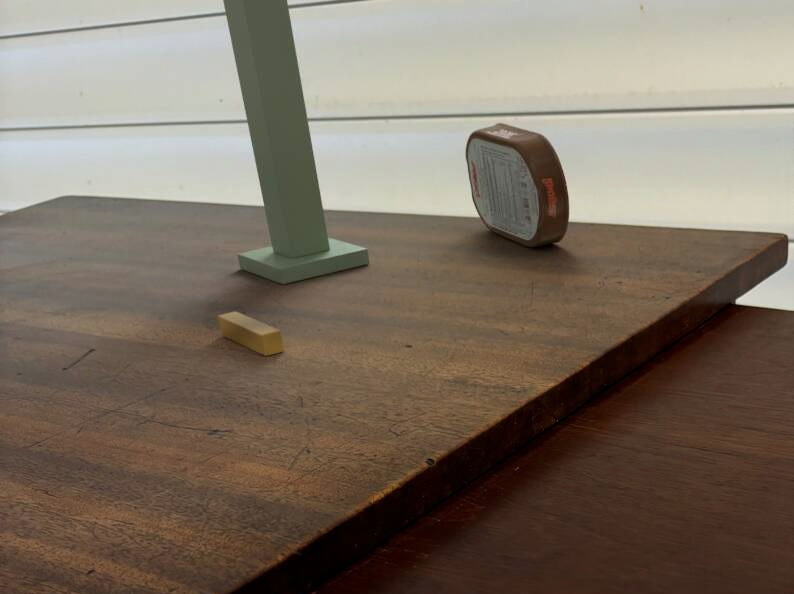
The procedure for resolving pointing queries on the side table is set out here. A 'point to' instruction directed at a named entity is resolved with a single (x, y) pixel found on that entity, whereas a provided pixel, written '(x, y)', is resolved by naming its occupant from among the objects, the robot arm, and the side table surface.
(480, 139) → the tin
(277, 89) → the stand
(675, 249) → the side table surface
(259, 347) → the fry
